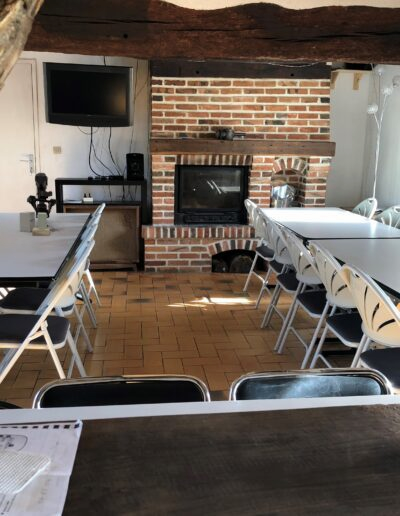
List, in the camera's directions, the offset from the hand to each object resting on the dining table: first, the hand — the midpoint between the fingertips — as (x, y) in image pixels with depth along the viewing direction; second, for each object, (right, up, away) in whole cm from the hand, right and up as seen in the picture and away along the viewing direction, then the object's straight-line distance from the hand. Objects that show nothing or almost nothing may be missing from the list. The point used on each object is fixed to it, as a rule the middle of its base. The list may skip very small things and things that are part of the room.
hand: (42, 212), depth 353 cm
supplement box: (-11, -12, +3) cm, 17 cm away
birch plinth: (+1, -15, -6) cm, 16 cm away
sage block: (+1, -11, -7) cm, 13 cm away
